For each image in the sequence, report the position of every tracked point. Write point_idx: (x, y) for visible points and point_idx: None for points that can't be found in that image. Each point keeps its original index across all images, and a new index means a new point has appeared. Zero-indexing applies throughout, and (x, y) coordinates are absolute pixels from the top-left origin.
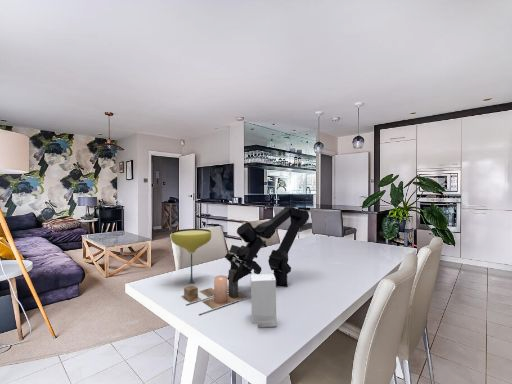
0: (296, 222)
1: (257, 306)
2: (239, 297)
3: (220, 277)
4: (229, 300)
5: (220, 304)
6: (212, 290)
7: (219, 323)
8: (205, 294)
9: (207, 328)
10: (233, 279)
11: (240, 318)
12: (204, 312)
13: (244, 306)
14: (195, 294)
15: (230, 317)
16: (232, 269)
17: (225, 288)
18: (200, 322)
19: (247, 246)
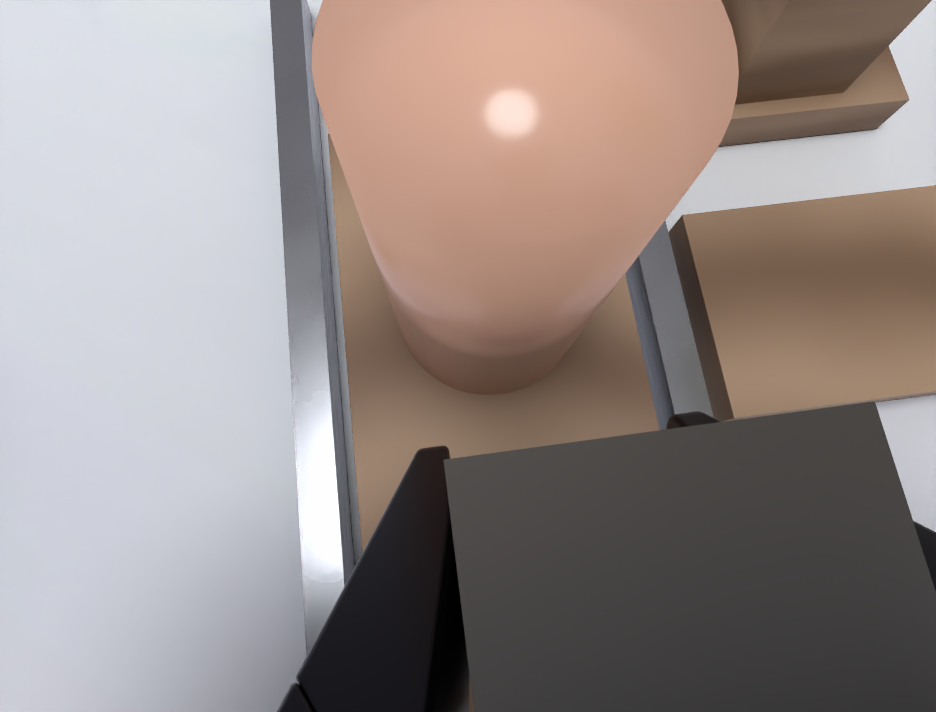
0: None
1: None
2: None
3: (536, 45)
4: (426, 410)
5: None
6: (896, 353)
7: (90, 132)
8: (786, 216)
9: (89, 19)
10: (417, 478)
11: (18, 353)
12: (301, 38)
13: (246, 561)
14: (737, 35)
15: (117, 272)
16: (896, 667)
17: (373, 253)
18: (229, 8)
19: None
